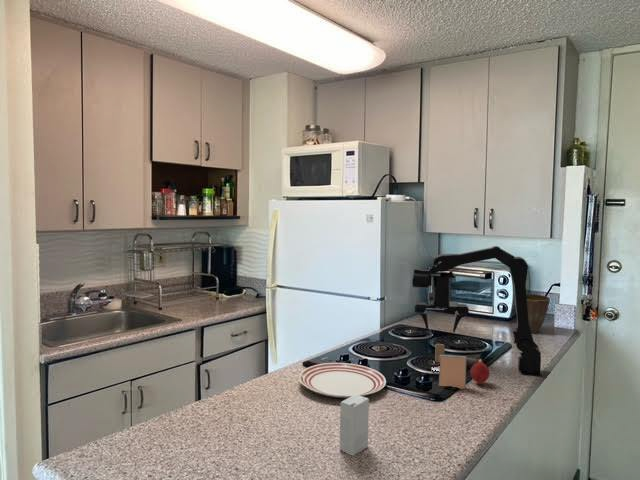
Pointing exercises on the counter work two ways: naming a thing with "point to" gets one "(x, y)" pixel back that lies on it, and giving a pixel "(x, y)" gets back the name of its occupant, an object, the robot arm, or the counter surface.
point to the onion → (479, 372)
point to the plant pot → (536, 310)
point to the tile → (452, 371)
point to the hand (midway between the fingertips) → (440, 331)
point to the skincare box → (354, 424)
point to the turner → (438, 354)
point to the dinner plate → (342, 379)
